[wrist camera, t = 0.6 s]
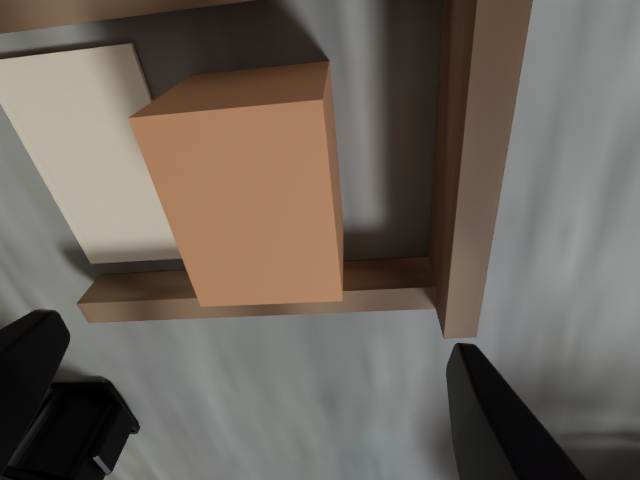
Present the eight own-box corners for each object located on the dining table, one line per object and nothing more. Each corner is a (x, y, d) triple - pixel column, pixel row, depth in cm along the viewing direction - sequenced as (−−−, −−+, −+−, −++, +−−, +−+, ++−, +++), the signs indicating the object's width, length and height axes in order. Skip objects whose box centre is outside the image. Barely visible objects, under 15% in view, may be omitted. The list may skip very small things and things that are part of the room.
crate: (234, 229, 21) (200, 306, 16) (191, 74, 17) (128, 117, 12) (343, 222, 21) (342, 301, 16) (329, 59, 16) (322, 99, 11)
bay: (110, 293, 24) (68, 350, 21) (-58, -7, 15) (-184, 1, 12) (454, 276, 22) (476, 337, 18) (493, -87, 13) (550, -109, 9)
